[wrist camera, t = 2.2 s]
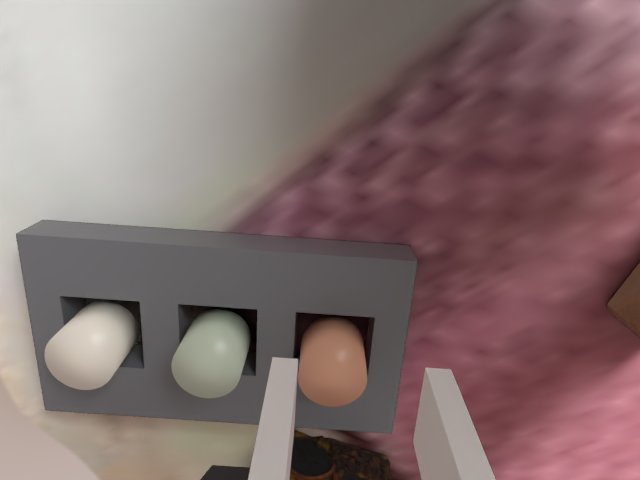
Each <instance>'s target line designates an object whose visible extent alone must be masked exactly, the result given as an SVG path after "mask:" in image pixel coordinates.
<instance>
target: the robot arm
mask: <svg viewBox="0 0 640 480" xmlns="http://www.w3.org/2000/svg"><path fill="white" fill-rule="evenodd" d="M297 373H298V359H292V358H277V357H272V362H271V367H270V372H269V377H268V382H267V387H266V392H265V397H264V402H263V407H262V412H261V417H260V422H259V427H258V432H257V437H256V442H255V447H254V452H253V457H252V462H251V467H250V468H246V467H231V466H216V465H212V466H211V467H210V469H209V470H208V471H207V472H206V474H205V475H204V476H203V477H202V478H201V480H289V479H290V468H291V458H292V448H293V438H294V425H295V408H296V390H297ZM413 444H414V448H415V453H416V457H417V462H418V466H419V471H420V475H421V480H496V479H495V477H494V474H493V472H492V469H491V467H490V464H489V462H488V459H487V457H486V455H485V452H484V450H483V447H482V445H481V442H480V440H479V437H478V435H477V432H476V430H475V427H474V425H473V422H472V420H471V417H470V415H469V412H468V410H467V407H466V405H465V402H464V400H463V398H462V395H461V393H460V390H459V388H458V385H457V383H456V380H455V378H454V375H453V373H452V370H451V369H440V368H425V372H424V378H423V384H422V390H421V396H420V402H419V408H418V414H417V420H416V426H415V432H414V437H413Z"/></svg>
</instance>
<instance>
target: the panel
mask: <svg viewBox="0 0 640 480" xmlns="http://www.w3.org/2000/svg"><path fill="white" fill-rule="evenodd" d="M16 238H17V244H18V250H19V256H20V262H21V268H22V274H23V280H24V286H25V292H26V298H27V304H28V310H29V316H30V322H31V328H32V334H33V340H34V346H35V352H36V358H37V364H38V370H39V376H40V382H41V388H42V394H43V400H44V406H45V410H49V411H64V412H79V413H94V414H109V415H123V416H138V417H153V418H168V419H183V420H198V421H213V422H227V423H242V424H257V425H259V422H260V417H261V412H262V407H263V402H264V397H265V392H266V387H267V382H268V377H269V372H270V367H271V362H272V357H277V358H292V359H298V370H299V361H300V355H295V346H296V328H297V312H301V313H316V314H330V315H345V316H360V317H369V323H368V331H367V340H366V349H365V360H366V368H367V376H368V378H367V385H366V388H365V390H364V391H363V393H362V394H361V395H360V396H359V397H358V398H357V399H356V400H354V401H353V402H351V403H349V404H346V405H343V406H337V407H329V406H323V405H320V404H317V403H315V402H313V401H311V400H310V399H309V398H308V397H306V396H305V394H304V393H303V392H302V390H301V388H300V386H299V383H298V373H297V390H296V408H295V425H294V427H302V428H317V429H331V430H346V431H361V432H376V433H391V434H392V430H393V424H394V417H395V410H396V403H397V397H398V390H399V383H400V376H401V370H402V363H403V356H404V349H405V343H406V336H407V329H408V323H409V316H410V309H411V302H412V296H413V289H414V282H415V275H416V269H417V262H418V261H417V259H416V257H415V255H414V253H413V250H412V248H411V246H410V245H401V244H387V243H372V242H357V241H343V240H328V239H314V238H299V237H285V236H270V235H255V234H241V233H226V232H212V231H197V230H183V229H168V228H153V227H139V226H124V225H110V224H95V223H81V222H66V221H52V220H42V221H40V222H38V223H36V224H34V225H32V226H30V227H28V228H26V229H24V230H22V231H20V232H19V233H17V234H16ZM84 298H96V299H110V300H125V301H139V302H140V315H141V328H142V342H143V344H135V345H134V346H133V348H132V349H131V351H130V352H129V354H128V355H127V356H126V358H125V359H124V361H123V362H122V363H121V365H120V366H119V368H118V369H117V370H116V372H115V373H114V375H113V376H112V377H111V379H110V380H109V381H108V382H107V383H106V384H105V385H103V386H102V387H100V388H97V389H93V390H79V389H75V388H72V387H69V386H67V385H65V384H63V383H61V382H60V381H59V380H57V379H56V378H55V377H54V376H53V375H52V374H51V372H50V371H49V369H48V367H47V365H46V362H45V357H44V353H45V348H46V345H47V343H48V342H49V340H50V339H51V338H52V337H53V336H54V335H55V334H56V333H58V332H59V331H60V330H61V329H62V328H63V327H64V326H65V325H66V324H67V323H68V322H69V321H70V320H71V319H72V318H73V317H74V316H75V315H76V314H77V313H78V312H79V311H80V310H81V309H82V308H83V307H85V300H84ZM191 305H198V306H213V307H228V308H242V309H257V350H256V352H248V353H247V356H246V360H245V363H244V367H243V370H242V374H241V377H240V380H239V383H238V384H237V386H236V387H235V388H234V389H233V390H232V391H231V392H230V393H228V394H226V395H224V396H222V397H218V398H201V397H197V396H194V395H192V394H190V393H188V392H187V391H185V390H184V389H183V388H181V387H180V386H179V384H178V383H177V382H176V380H175V378H174V376H173V373H172V368H171V364H172V359H173V356H174V354H175V353H176V351H177V349H178V347H179V345H180V343H181V342H182V340H183V338H184V336H185V334H186V332H187V331H188V329H189V327H190V325H191Z"/></svg>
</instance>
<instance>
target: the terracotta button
mask: <svg viewBox="0 0 640 480" xmlns="http://www.w3.org/2000/svg"><path fill="white" fill-rule="evenodd" d="M367 378H368V376H367V368H366V360H365V351H364V343H363V337H362V334H361V332H360V330H359V329H358V327H357V326H356V325H355V324H354V323H352V322H351V321H349V320H347V319H345V318H342V317H337V316H328V317H323V318H320V319H317V320H315V321H314V322H312V323H311V324H310V325H309V326H308V327H307V328H306V330H305V331H304V333H303V336H302V342H301V351H300V361H299V370H298V383H299V386H300V388H301V390H302V392H303V393H304V394H305V396H306V397H308V398H309V399H310V400H311V401H313V402H315V403H317V404H320V405H323V406H329V407H337V406H343V405H346V404H349V403H351V402H353V401H354V400H356V399H357V398H358V397H359V396H360V395H361V394H362V393H363V391H364V390H365V388H366V385H367Z"/></svg>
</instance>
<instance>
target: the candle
mask: <svg viewBox="0 0 640 480" xmlns="http://www.w3.org/2000/svg"><path fill="white" fill-rule="evenodd" d="M389 468H390V462H389V460H388V459H387V457H386V456H384V455H381V454H378V453H375V452H372V451H367V450H362V449H360V448H359V447H357V446H353V445H350V444H347V443H342V442H339V441H337V440H334V439H329V438H324V437H323V436H320V437H311V436H308V435H306V434H303V433H301V432H298V431H297V430H295V429H294V438H293V448H292V458H291V468H290V479H289V480H392V475H391V473H390V472H389Z"/></svg>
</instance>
